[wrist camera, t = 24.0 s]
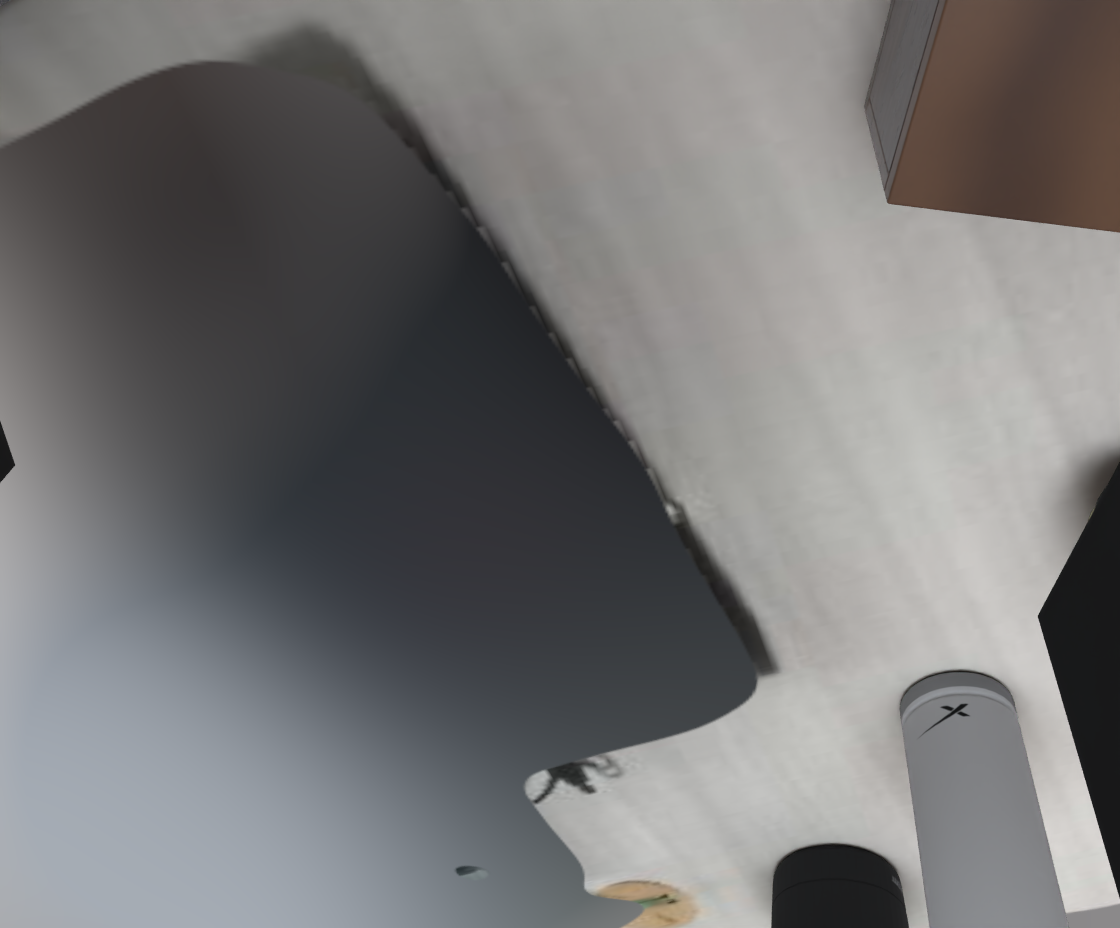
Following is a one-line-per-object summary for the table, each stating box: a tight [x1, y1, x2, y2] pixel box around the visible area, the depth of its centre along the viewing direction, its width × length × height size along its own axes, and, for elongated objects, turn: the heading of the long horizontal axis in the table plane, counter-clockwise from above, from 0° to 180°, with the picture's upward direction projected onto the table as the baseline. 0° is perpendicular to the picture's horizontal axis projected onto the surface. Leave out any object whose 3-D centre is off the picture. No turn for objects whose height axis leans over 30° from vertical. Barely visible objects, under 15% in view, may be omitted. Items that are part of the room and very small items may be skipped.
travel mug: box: [900, 672, 1069, 928], centre depth 53 cm, size 6×7×20 cm
